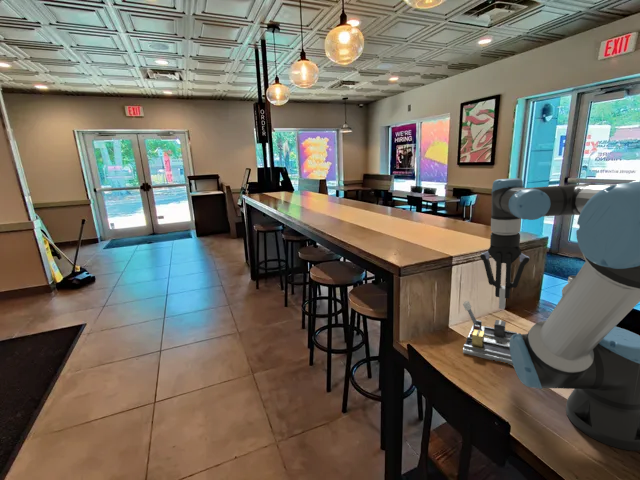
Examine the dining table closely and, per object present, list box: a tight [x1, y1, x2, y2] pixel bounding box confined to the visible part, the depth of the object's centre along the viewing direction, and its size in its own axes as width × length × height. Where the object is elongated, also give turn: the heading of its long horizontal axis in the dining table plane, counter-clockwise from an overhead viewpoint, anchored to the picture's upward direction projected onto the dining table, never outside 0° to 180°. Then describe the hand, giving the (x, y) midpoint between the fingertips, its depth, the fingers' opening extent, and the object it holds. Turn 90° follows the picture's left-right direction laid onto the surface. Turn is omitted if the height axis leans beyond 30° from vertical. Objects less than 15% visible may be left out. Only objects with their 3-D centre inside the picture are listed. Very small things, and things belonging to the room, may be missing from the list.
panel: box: [462, 319, 519, 366], centre depth 107 cm, size 18×15×4 cm
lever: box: [462, 300, 479, 325], centre depth 114 cm, size 2×2×10 cm
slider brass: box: [472, 330, 484, 348], centre depth 105 cm, size 4×3×5 cm
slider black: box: [493, 319, 506, 337], centre depth 109 cm, size 4×3×5 cm
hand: (502, 307), depth 98 cm, fingers closed
